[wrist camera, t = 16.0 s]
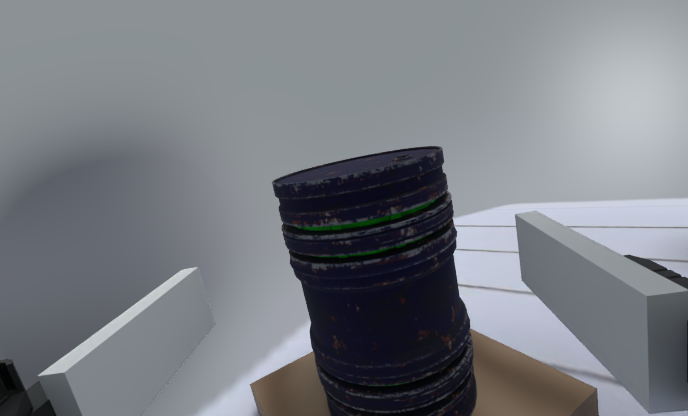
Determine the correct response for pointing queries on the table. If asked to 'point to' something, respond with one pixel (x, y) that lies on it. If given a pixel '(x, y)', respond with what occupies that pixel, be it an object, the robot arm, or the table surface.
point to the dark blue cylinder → (381, 283)
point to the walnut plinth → (491, 380)
